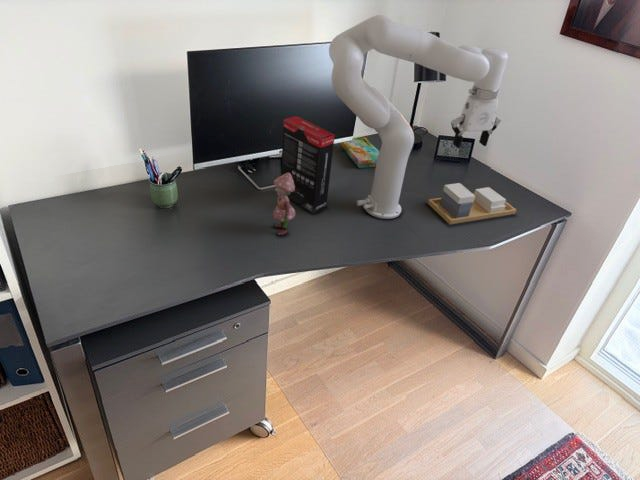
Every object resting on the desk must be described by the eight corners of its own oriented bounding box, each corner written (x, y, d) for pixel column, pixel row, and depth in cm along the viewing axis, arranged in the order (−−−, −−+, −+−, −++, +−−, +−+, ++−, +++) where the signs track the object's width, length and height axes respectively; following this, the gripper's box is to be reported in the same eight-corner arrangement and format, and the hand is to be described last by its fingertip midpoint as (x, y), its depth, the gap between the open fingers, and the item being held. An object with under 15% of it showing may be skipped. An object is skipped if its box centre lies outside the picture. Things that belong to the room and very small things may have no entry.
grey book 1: (458, 212, 164) (460, 204, 162) (441, 197, 171) (443, 189, 170) (470, 210, 166) (473, 202, 164) (453, 195, 173) (455, 187, 171)
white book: (489, 213, 171) (491, 208, 170) (474, 200, 178) (475, 195, 177) (503, 211, 173) (505, 205, 172) (487, 198, 180) (489, 193, 179)
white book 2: (490, 207, 170) (492, 202, 169) (473, 194, 177) (475, 189, 175) (504, 204, 173) (506, 199, 171) (487, 192, 179) (488, 186, 178)
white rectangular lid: (458, 203, 162) (460, 198, 161) (443, 190, 169) (444, 184, 168) (473, 201, 165) (475, 196, 163) (458, 188, 171) (459, 182, 170)
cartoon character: (298, 239, 150) (303, 180, 138) (275, 241, 147) (278, 182, 136) (289, 220, 157) (293, 164, 146) (267, 222, 155) (270, 165, 143)
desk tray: (449, 226, 163) (450, 220, 162) (427, 205, 174) (428, 199, 172) (514, 215, 173) (516, 210, 172) (490, 196, 183) (492, 190, 182)
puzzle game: (358, 158, 188) (339, 136, 203) (356, 169, 190) (338, 147, 205) (386, 156, 191) (365, 135, 206) (384, 167, 194) (364, 145, 209)
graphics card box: (327, 208, 165) (337, 132, 150) (313, 215, 161) (321, 137, 145) (292, 188, 174) (297, 114, 158) (277, 194, 170) (281, 118, 154)
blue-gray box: (456, 219, 166) (458, 212, 164) (439, 204, 173) (441, 197, 171) (468, 217, 167) (470, 210, 166) (451, 202, 175) (453, 195, 173)
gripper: (466, 97, 143) (451, 152, 153) (515, 96, 148) (499, 148, 158) (452, 89, 149) (440, 141, 159) (501, 87, 154) (485, 138, 164)
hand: (469, 145), depth 158 cm, fingers open, 9 cm apart
